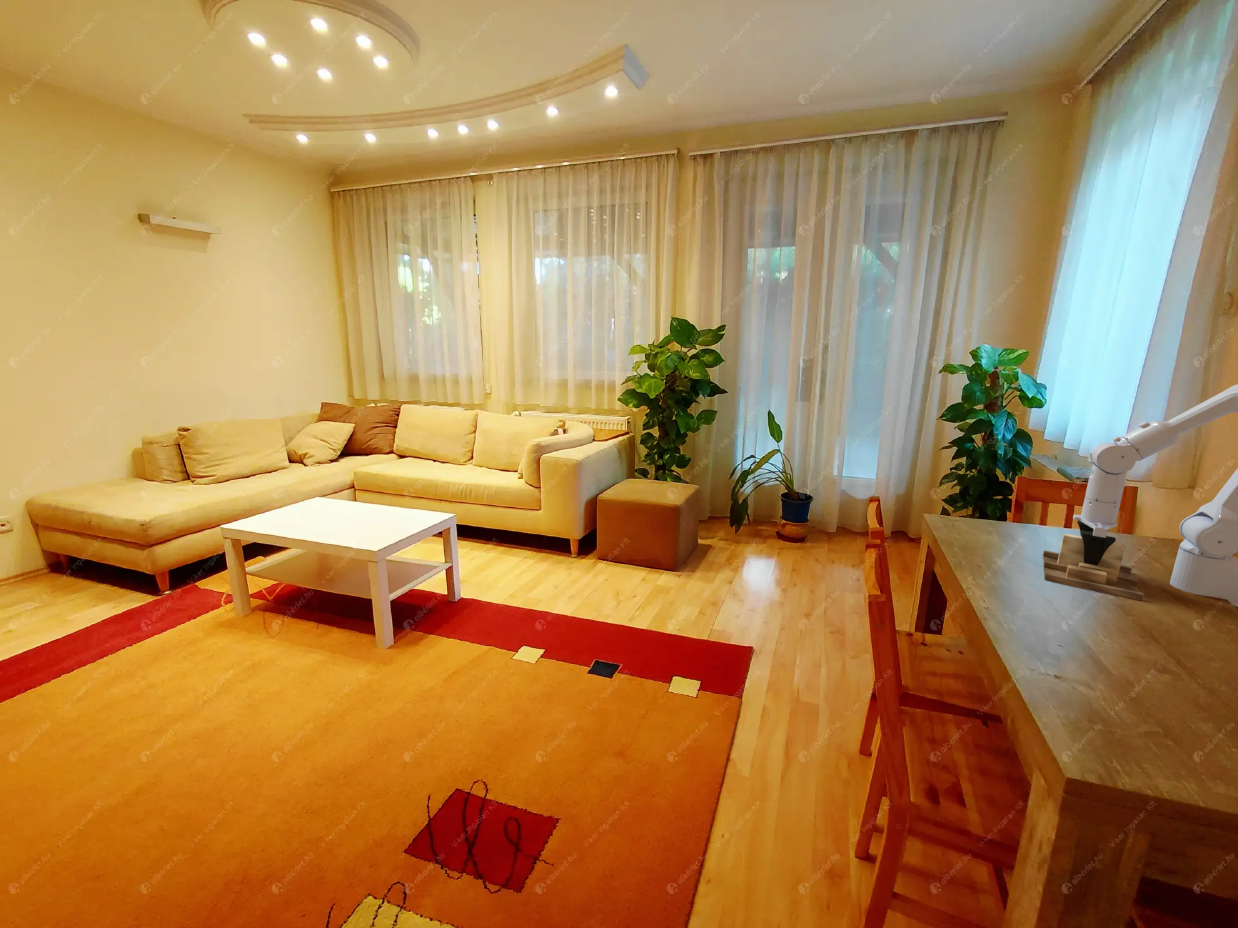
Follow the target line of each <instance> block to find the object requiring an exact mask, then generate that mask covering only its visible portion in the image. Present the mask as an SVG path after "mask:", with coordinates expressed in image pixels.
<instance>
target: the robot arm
mask: <svg viewBox="0 0 1238 928" xmlns="http://www.w3.org/2000/svg"><path fill="white" fill-rule="evenodd" d="M1233 413H1238V383H1237V384H1234V385H1231V387H1228V388H1226V389H1224V390H1223V391H1222V392H1220V393H1218V394H1215V395H1214V396H1212V397H1210V398H1207V399H1206V400H1205V401H1202V402H1200V403H1199V404H1197V405H1196V406H1194V407H1191V408H1190V409H1187V410H1186V411H1184V412H1182V413H1180V414H1178V415H1176V416H1175V417H1173V418H1171V419H1169V420H1166V421H1160V420H1153V421H1151V422H1148V421H1143V422H1141V423H1139V424H1138V426H1139V427H1138V428H1136V429H1134V430H1132V431H1130V432H1128V433H1126V434H1124V435H1122V436H1115V437H1113V438H1112V441H1113V442H1104V443H1100V444H1099V445H1097V446H1096V447H1095V448H1094V450H1092V452H1091V453H1089V459H1090V462H1091V463H1092V467H1091V470H1090V475H1089V477H1088V481H1087V487H1086V490H1085V495H1084V501H1083V504H1082V508H1081V514H1073V516H1072V518H1073V519H1074V520H1075V521H1076V523H1077V526H1078V529H1079V533H1080V536H1082V539H1083V544H1084V563H1085V564H1090V565H1095V566H1097V565H1098V564H1099V562H1100V561H1101V559H1102V557H1103V555H1104V553H1105V552H1106V550H1107V549H1108V548H1109V547H1110V546H1111V545H1112V544H1113V543H1114V542H1117V538H1116V537H1114V536H1110V535H1108V536H1107V534H1108V532H1109V531H1110V530H1112V529H1113V528H1115V527H1117V525H1118V522H1117V519H1118V515H1119V511H1120V507H1121V504H1122V503H1121V502H1122V497H1123V493H1124V489H1125V485H1126V478H1127V473H1128V472H1129V471H1131V470H1132V469H1133V468H1134V467H1135V465H1136V463H1137V462H1141V461H1143V460H1145V459H1147V458H1149V457H1151V456H1153V455H1155V454H1158V453H1160V452H1162V451H1164V450H1166V449H1168V448H1171V447H1172V446H1175V445H1176V444H1177V443H1178V440H1179V438H1180V436H1181V435H1183V434H1185V433H1187V432H1190V431H1192V430H1194V429H1196V428H1199V427H1201V426H1203V425H1206V424H1209V423H1211V422H1213V421H1215V420H1217V419H1220V418H1223V417H1224V416H1227V415H1229V414H1233ZM1178 527H1179V534H1180V536H1182V538H1183V541H1181V543H1180V544H1179V547H1178V551H1177V554H1176V558H1175V563H1174V565H1173V570H1172V573H1171V577H1170V581H1169V584H1170V586H1171V587H1174V588H1175V589H1177V590H1178V589H1179V590H1181V591H1183V592H1186V593H1190V594H1194V595H1198V596H1202V597H1211V598H1216V599H1217V598H1218V599H1222V600H1227V602H1229V603H1230V605H1231V607H1237V608H1238V557H1237V556H1233V555H1234V554H1236V553H1238V467H1237V468H1236V470H1234V473H1232V475H1231V476H1230V478H1229V479H1228V480H1227V481H1226V482H1225V484H1224V485H1223V487H1222V488H1221V489H1220V490H1219V492H1218V493H1217V494H1216V496H1215V497H1214V498H1213V500H1211V501H1209V502H1208V503H1205V504H1203V505H1201V506H1200V507H1199V508H1198V509H1197V511H1196V512H1195V513H1193V514H1191V515H1189V516H1187V517H1185V518H1183V520H1182V521H1181V522H1180V523H1179V526H1178Z"/></svg>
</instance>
